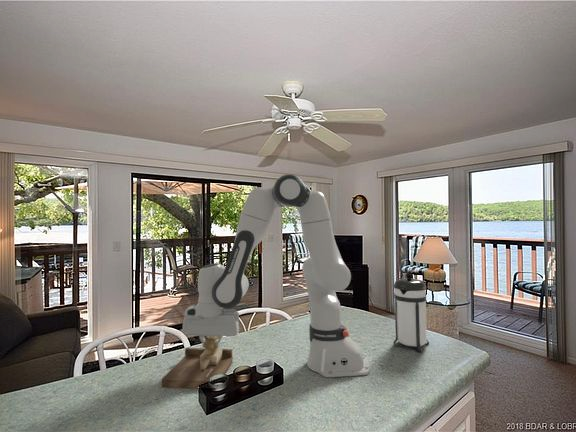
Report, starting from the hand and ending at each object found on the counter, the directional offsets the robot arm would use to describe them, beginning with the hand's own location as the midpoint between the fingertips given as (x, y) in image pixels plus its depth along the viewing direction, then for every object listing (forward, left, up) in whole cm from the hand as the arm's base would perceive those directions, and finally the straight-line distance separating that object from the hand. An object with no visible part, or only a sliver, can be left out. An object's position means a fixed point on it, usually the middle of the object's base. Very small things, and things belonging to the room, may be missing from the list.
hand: (211, 347), depth 108 cm
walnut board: (+3, +4, -8) cm, 9 cm away
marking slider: (0, +3, -5) cm, 6 cm away
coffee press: (-77, -27, -8) cm, 82 cm away
